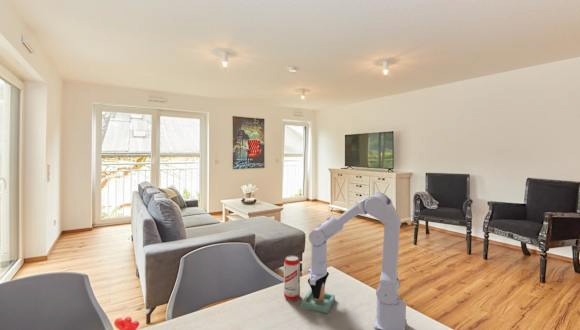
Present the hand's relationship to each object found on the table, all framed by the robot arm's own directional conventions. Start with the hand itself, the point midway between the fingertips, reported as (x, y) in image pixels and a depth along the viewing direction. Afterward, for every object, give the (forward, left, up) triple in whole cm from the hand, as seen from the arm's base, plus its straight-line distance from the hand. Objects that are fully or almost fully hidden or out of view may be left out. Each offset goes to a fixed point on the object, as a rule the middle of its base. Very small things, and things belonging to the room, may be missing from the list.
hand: (318, 294), depth 105 cm
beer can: (+11, 0, -4) cm, 12 cm away
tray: (0, 0, -4) cm, 4 cm away
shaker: (0, 0, -2) cm, 2 cm away
